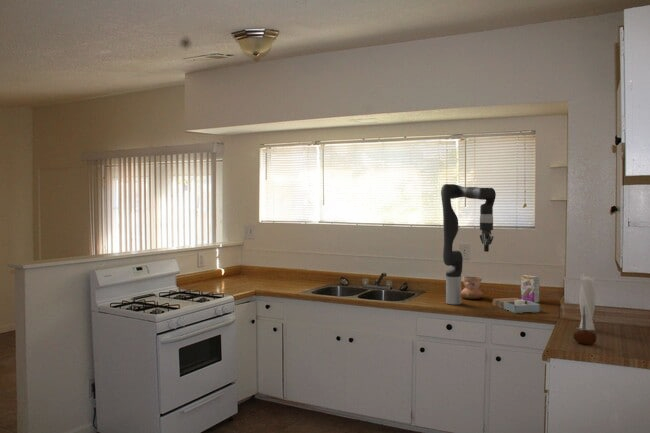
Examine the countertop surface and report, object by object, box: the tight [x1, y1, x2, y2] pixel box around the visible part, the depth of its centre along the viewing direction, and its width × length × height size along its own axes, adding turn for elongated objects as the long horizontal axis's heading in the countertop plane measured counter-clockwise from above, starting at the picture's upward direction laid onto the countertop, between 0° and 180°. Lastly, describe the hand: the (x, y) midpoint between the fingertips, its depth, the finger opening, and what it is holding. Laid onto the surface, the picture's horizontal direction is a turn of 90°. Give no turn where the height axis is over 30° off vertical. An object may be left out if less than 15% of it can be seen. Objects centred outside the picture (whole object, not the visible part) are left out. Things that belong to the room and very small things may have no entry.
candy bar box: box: [520, 274, 540, 304], centre depth 359 cm, size 11×5×16 cm, turn 28°
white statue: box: [576, 272, 597, 332], centre depth 282 cm, size 8×8×28 cm
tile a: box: [514, 300, 525, 305], centre depth 333 cm, size 5×5×3 cm
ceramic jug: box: [461, 275, 484, 300], centre depth 373 cm, size 18×14×14 cm
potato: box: [572, 330, 597, 346], centre depth 252 cm, size 7×9×6 cm
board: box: [492, 297, 527, 310], centre depth 343 cm, size 13×16×4 cm
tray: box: [503, 301, 541, 314], centre depth 330 cm, size 13×16×4 cm
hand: (486, 251), depth 328 cm, fingers closed
